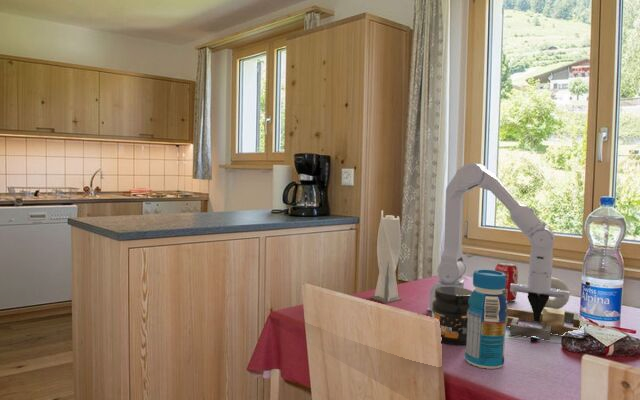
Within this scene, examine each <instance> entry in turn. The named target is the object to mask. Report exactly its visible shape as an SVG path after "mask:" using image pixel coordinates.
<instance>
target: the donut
mask: <svg viewBox="0 0 640 400" xmlns="http://www.w3.org/2000/svg"><path fill="white" fill-rule="evenodd" d="M551 288H555V289H560V290H565V291H569V292H570V289H569V287H568V285H567V284H566V283H565V282H564V281H563V280H561V279H560V278H556V277H554V276H552V277H551ZM569 299H570V293H569V297H568V300H567V299H564V298H557V297H552V298H550V297H549V299H548V301H547V303H546V304H545V306H544V308H545V307H548V308H555V309H562V308H563V307H565V306H566V305H567V303H568V302H569Z"/></svg>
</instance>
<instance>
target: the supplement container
mask: <svg viewBox="0 0 640 400" xmlns="http://www.w3.org/2000/svg"><path fill="white" fill-rule="evenodd" d="M473 291H474V290H471V289H467V288H460V287H448V286H447V287H438V288H436V289H435V299H434V300H433V302H432V311H431V318H432V317H434V318H437V319H439V321H440V328H441V337H442V342H441V343H444V344H449V345H456V346H457V345H466V342H467V322H468V318H467V310H468V309H469V303H468V300H469V297H470V295H471V294H472V292H473Z"/></svg>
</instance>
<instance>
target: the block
mask: <svg viewBox="0 0 640 400" xmlns="http://www.w3.org/2000/svg"><path fill="white" fill-rule="evenodd" d="M565 311H566V310H565V309H562V308H559V309H555V308H548V307H545V308H544V311H543V320H542V323H541V324H542V325H541V329H546V325H547V323H551V324H557V325H563V326H565V321H564V318H565Z"/></svg>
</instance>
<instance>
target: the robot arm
mask: <svg viewBox="0 0 640 400" xmlns="http://www.w3.org/2000/svg"><path fill="white" fill-rule="evenodd" d="M476 187H478V188H480V189H484V190H487V191H489V192H490V193H492V194H493V195H494V197H495V198H497V200H498V201H500V203H501V204H502V205H503V206H504V207H505V208H506V209H507V210H508V211H509V212H510V214H509V215H510V216H509V219H510V220H511V221H512V223H513V224H514V225H515V226H516V228H517V229H519V230H520V231H521V232H522V234H523V235H524V236H525V237H527V238H529V243H530V246H531V247H530V248H531V249H530V254H529V265H528V277H527V278H528V279H527V281H528V282H527V284H525V283H524V284H522V283H517V284H513V283H511V285H510V291H511V292H514V291H515V292H517V293H522V294H527V299H528V302H529V304H530V307H531V311H533V315H534V323H539V320H540V315H541V312H542V310H543V308H544V306H545V304H546V303H547V301H548V299H549V298H550V297H551V298H555V297H557V298H564V299H567V300H568V297H569V298H570V296H569V294H570V290H569V291H565V290H560V289H555V288H551V277H553V275H552V273H553V263H554V261H553V259H554V255H553V253H554V247H553V246H554V243H555V239H556V237H555V233H554V232H553V230H552V228H550V227H548V224H547V222H546V221H544V222H543V221H542V219H540V217H538V216H537V214H536V213H535V211H536V209H534V208H533V207H529V205H526V204H520V203H519V202H518V200H517V199H516V198H515V197H514V196H513V195H512V194H511V192H510V191H509V190H508V189H507V188H506V186H505V185H504V184H503V183H502V181H501V180H500V179H499V178H498V177H497V176H496V175H495V174H494V173H493V172H491V171H490V170H488V168H487V167H486V166H485V164H484V165H483V164H481V163H473V162H469V163H466V164H464V165H462V166H461V167H460V168H458V169H457V170H456V171H455V174H454V176H453V177H452V179H451V181H450V182H449V183H448V184H447V186H446V189H445V211H444V213H445V214H444V235H443V236H444V237H443V238H444V241H443V251H442V253H441V255H440V256H441V258H440V263H439V264H438V267H437V270H436V272H437V277H438V281H437V282H436V283H434V284H433V285H432V286H431V287H430V291H429V292H430V293H429V307H427V309H426V310H427V311H430V312H432V302H433V300H434V299H435V289H436V288H438V287H447V286H448V287H460V288H464V285H465V280H464V279H463V276H464V274H465V273H466V270H467V265H466V263H465V260H464V253H463V249H462V247H463V244H462V243H463V223H464V222H463V219H464V197H465V195H466V194H467V193H468V192H470V191H472V189H474V188H476ZM568 301H569V300H568Z"/></svg>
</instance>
